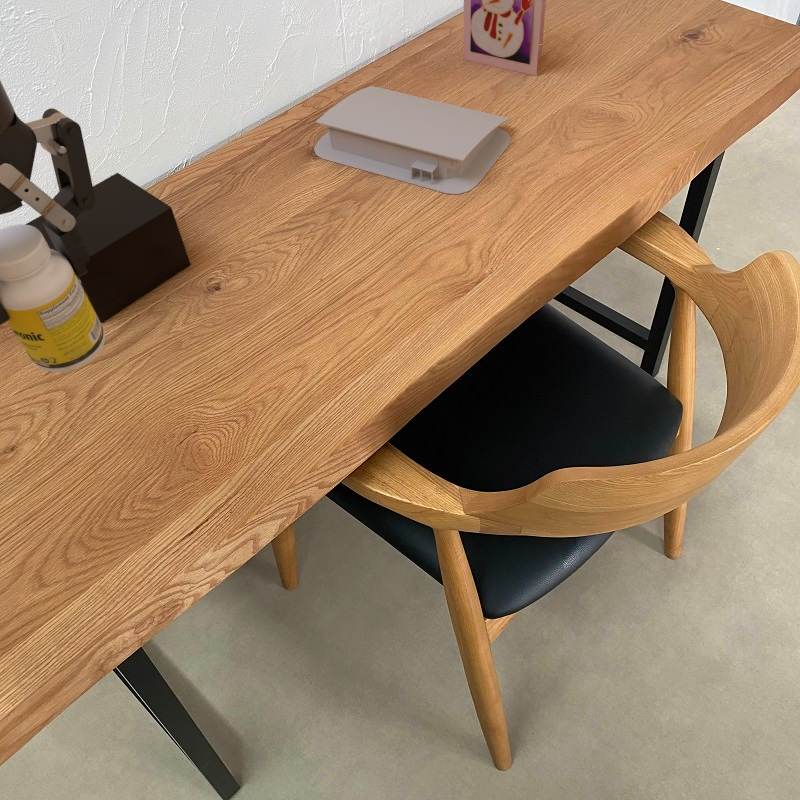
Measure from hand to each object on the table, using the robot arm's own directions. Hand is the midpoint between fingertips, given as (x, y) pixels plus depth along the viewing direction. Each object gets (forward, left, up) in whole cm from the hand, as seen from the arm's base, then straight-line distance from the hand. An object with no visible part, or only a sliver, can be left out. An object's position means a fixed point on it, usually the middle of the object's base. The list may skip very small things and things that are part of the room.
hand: (37, 292), depth 54 cm
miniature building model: (+22, +52, -23) cm, 61 cm away
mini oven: (-10, +27, -23) cm, 37 cm away
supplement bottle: (0, 0, -6) cm, 6 cm away
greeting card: (+35, +73, -23) cm, 84 cm away
